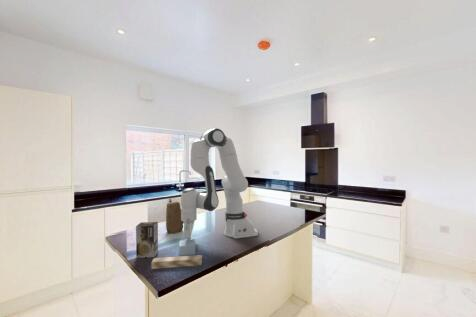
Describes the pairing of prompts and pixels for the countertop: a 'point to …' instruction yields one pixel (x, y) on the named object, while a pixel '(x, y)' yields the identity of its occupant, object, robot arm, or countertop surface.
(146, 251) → the coffee box
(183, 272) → the countertop surface
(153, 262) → the oak board
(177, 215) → the block
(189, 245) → the blue block
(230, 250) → the countertop surface
